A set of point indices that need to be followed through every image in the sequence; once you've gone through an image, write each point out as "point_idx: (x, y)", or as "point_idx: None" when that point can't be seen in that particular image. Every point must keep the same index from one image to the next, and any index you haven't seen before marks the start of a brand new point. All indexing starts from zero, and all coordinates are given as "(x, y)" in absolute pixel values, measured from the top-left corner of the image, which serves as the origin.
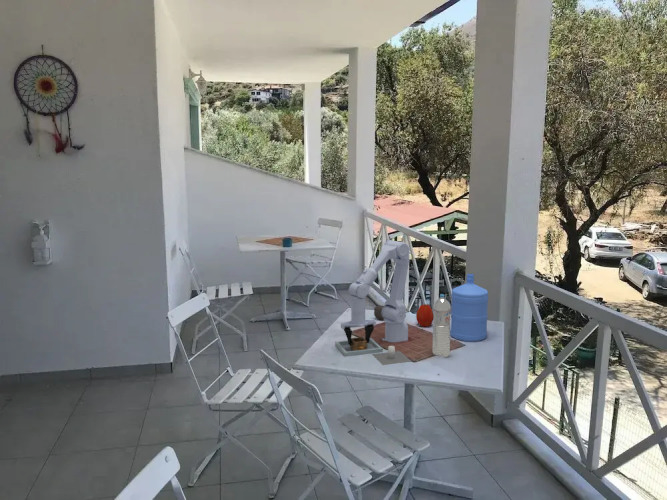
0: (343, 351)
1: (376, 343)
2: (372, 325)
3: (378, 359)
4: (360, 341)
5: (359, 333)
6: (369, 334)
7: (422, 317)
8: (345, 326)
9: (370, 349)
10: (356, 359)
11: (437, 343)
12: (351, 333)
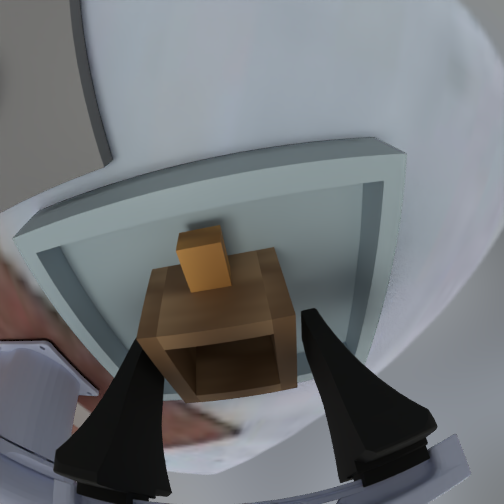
0: (401, 200)
1: (83, 339)
2: (80, 490)
3: (61, 29)
4: (211, 339)
5: (201, 429)
6: (108, 410)
7: None
8: (415, 474)
9: (105, 219)
10: (276, 98)
11: None
12: (354, 416)
